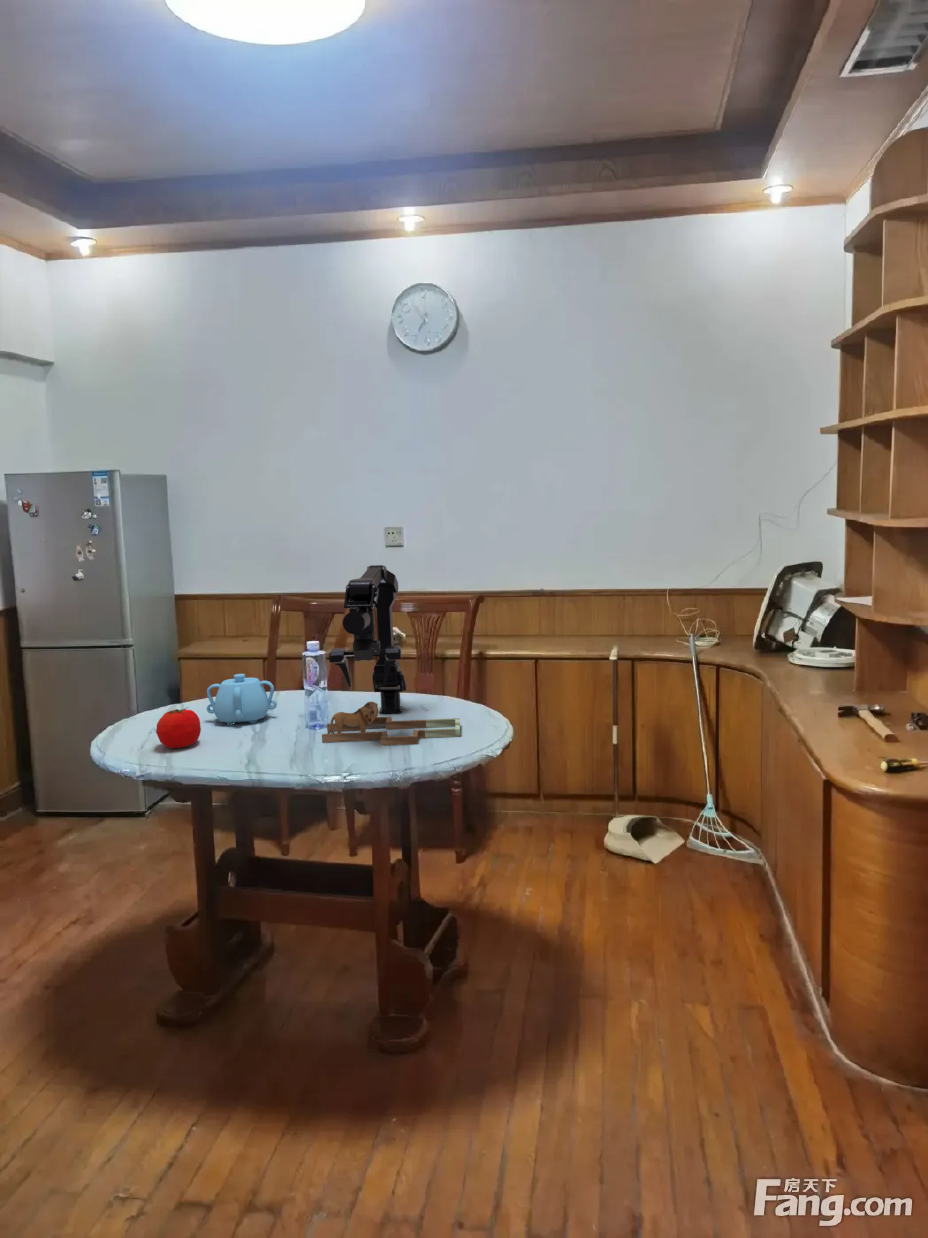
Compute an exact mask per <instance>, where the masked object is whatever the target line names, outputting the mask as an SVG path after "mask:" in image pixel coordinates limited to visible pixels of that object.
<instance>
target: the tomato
mask: <svg viewBox="0 0 928 1238" xmlns="http://www.w3.org/2000/svg"><path fill="white" fill-rule="evenodd" d="M188 708H189V706H188V707H186V708H184V709H179V708H175V709H173V710H170V711H166V712H165V713H163V715H162V716H161V717H160V718H159V719H158V721H157V723H156V730H155V733H156V736H157V738H158V741H159V743H161V744H162V745H163V746H165V747H166V748H167V749H181V748H180V747H183V748H186V747H189V745H190V746H191V744H192V745H193V744H195V743H196V742H197V741H198V739H199V738H200V736H201V731H202V728H201V721H200V718H199V716H198V714H197V713H196V712H195V711H193V710H192V709H188Z"/></svg>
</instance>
